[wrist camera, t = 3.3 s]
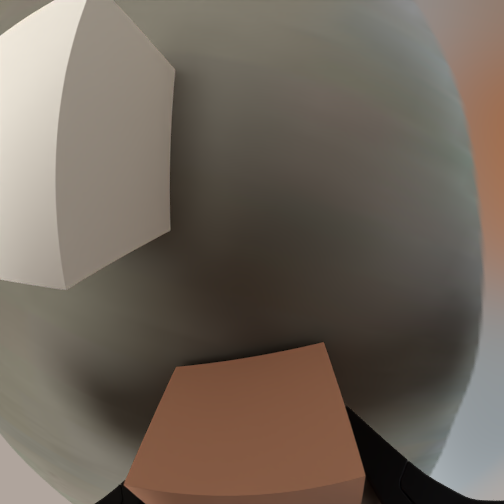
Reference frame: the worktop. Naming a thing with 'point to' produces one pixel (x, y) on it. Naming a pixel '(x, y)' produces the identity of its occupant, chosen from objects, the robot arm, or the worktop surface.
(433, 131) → the worktop surface
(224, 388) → the terracotta cube
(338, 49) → the worktop surface
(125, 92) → the off-white cube
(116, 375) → the worktop surface
